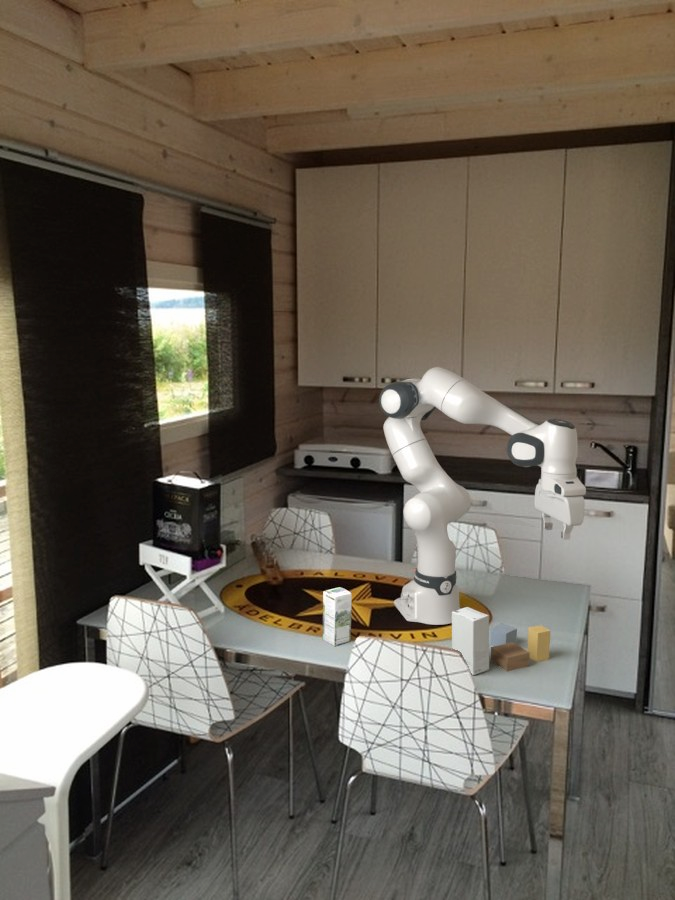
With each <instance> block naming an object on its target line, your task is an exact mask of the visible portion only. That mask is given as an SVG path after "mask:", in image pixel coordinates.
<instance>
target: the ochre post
mask: <svg viewBox="0 0 675 900" xmlns="http://www.w3.org/2000/svg"><path fill="white" fill-rule="evenodd" d="M527 631H528V634H527V646H526V647H527V650H526V651H528V652H529V653H530V656H529V659H531V660H533V661H534V662H536V663H539V662H544V661H547V660H549V659H550V648H551V646H550V645H551V630H550V629H548V628H547V627H545V626H543V625H542V624H540V625H535V626H530V627H529V626H528V630H527ZM543 660H544V661H543Z"/></svg>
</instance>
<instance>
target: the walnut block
mask: <svg viewBox="0 0 675 900" xmlns="http://www.w3.org/2000/svg"><path fill="white" fill-rule="evenodd" d="M529 656H530V653H529V652H528V651H527V650H526V649H525V648H523V647H521V646H520V645H518V644H517V643H516V644H514V643H513V642H512V643H507V644H503V645H498V646H491V647H490V657H489V662H490V661H491V662H492V663H493V664H494V665H497V667H499V666H500V668H501V669H503V670H504V671H506V672H511V671H515V670H519V669H524V668H528V667H530V657H529Z"/></svg>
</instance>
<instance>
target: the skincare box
mask: <svg viewBox="0 0 675 900" xmlns="http://www.w3.org/2000/svg"><path fill="white" fill-rule="evenodd" d="M461 608H462V607H461ZM452 648H453V649H455V650H458V651H460V652H461V653H462V655H463V657H464V659H465V660H466V662H467V664H468V666H469V669H470V671H471V673H472V674H471V675H472V676H476V675H478V674H483V673H484V672H487V671H489V670H490V614H488V613H487V614H486V613H483V612H480V611H479V610H476V609H474V608H471V607H469V606H466V607H463V608H462V609H459V610H456V611H453V612H452V623H451V649H452Z"/></svg>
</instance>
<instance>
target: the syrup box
mask: <svg viewBox="0 0 675 900" xmlns="http://www.w3.org/2000/svg"><path fill="white" fill-rule="evenodd" d="M322 592H323V593H322V637H321V638H322V640H323V641H324V642H325V643H328V644H330V645H331V646H334V647H337V646H340V645H343V644H346V643H350V642H351V638H352V637H351V636H352V635H351V632H352V631H351V630H352V603H353V602H352V598H353V595H352V593H351V591H349V590H347V589H345V588H343V587H340V586H339V587H335V588H331V589H325V590H324V591H322Z"/></svg>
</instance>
